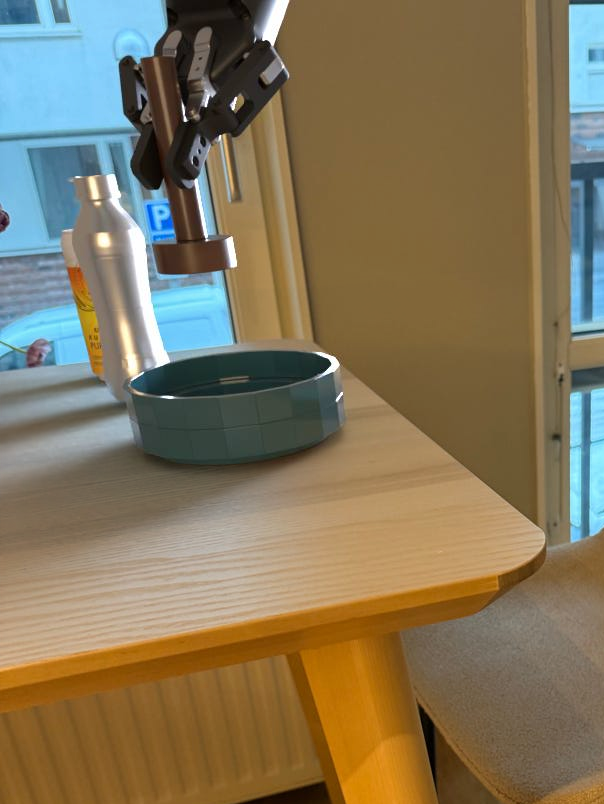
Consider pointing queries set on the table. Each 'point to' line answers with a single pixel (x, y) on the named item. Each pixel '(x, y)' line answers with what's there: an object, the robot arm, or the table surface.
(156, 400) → the bowl
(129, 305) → the silver bottle
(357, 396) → the table surface
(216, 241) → the brown rod on disc
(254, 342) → the table surface
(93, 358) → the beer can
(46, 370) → the table surface
